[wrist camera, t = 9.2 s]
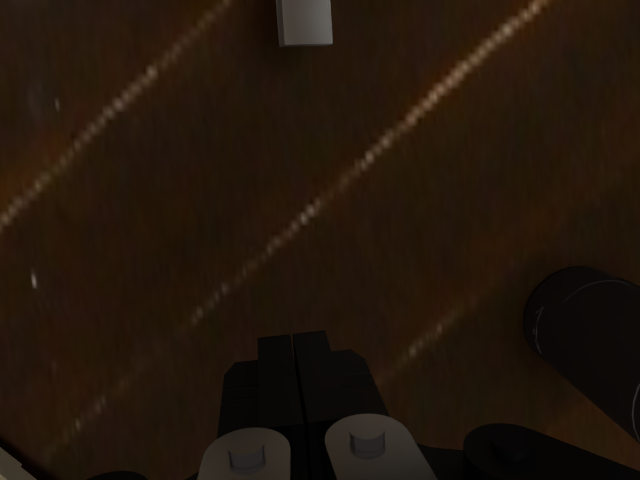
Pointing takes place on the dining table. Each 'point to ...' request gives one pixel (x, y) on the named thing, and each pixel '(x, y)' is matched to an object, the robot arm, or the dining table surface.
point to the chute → (304, 23)
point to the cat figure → (12, 468)
